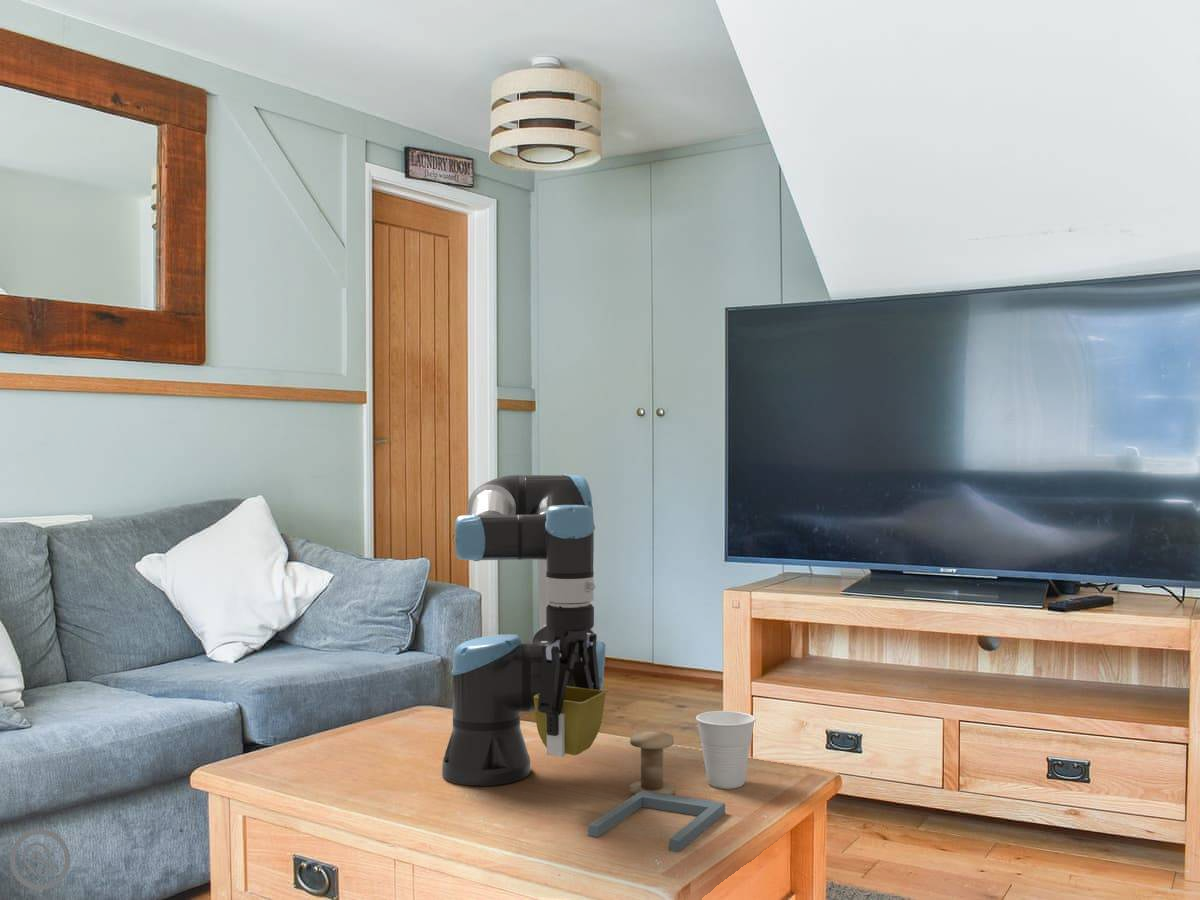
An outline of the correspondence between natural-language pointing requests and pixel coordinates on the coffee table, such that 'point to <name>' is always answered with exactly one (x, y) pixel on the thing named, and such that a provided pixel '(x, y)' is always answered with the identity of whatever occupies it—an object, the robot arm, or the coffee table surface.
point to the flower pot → (576, 718)
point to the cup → (725, 746)
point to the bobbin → (651, 762)
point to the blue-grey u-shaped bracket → (701, 808)
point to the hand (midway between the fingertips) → (570, 747)
